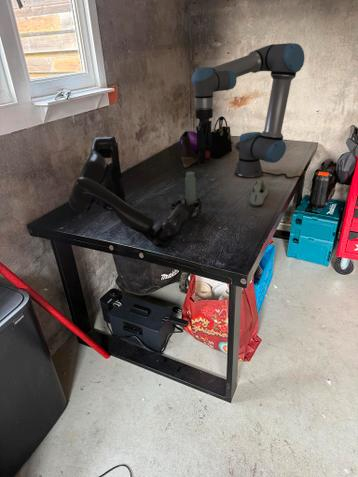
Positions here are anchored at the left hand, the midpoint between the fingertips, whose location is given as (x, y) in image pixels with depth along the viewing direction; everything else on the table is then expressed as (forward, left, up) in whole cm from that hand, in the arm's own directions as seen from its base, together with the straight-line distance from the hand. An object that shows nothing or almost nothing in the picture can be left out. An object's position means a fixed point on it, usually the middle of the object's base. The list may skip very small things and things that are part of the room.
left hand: (193, 199), depth 147 cm
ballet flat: (+26, +23, -6) cm, 35 cm away
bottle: (0, -3, -6) cm, 7 cm away
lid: (+2, +14, +17) cm, 22 cm away
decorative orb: (-31, +92, -6) cm, 97 cm away
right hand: (+2, +14, +13) cm, 19 cm away
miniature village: (+12, +116, -6) cm, 117 cm away
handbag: (-9, +91, -6) cm, 92 cm away
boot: (-24, +70, -6) cm, 74 cm away
